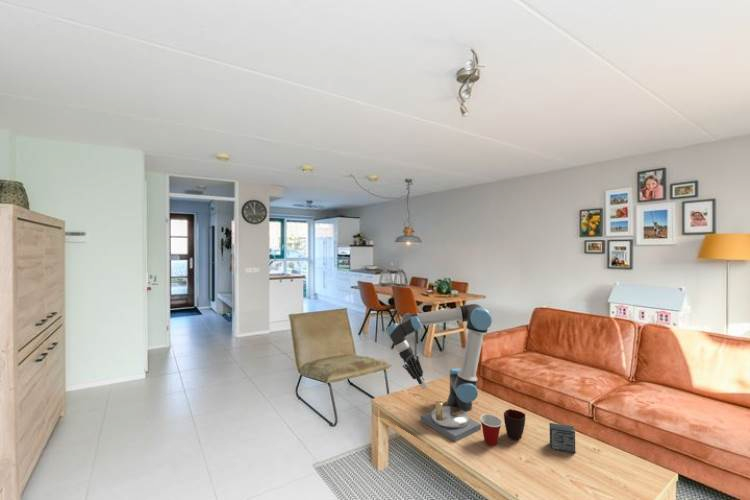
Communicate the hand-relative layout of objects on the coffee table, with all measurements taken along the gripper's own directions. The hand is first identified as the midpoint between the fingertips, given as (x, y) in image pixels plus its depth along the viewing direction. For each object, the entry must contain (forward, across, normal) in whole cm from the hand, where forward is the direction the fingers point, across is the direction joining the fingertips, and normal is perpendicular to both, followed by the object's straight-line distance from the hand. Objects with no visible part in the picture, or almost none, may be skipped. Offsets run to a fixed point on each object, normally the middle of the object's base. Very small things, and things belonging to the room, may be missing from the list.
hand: (425, 388), depth 194 cm
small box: (+53, -20, +43) cm, 71 cm away
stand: (+24, -5, -1) cm, 24 cm away
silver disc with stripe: (+21, -6, 0) cm, 22 cm away
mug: (+42, -17, +25) cm, 51 cm away
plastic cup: (+36, -3, +20) cm, 41 cm away
